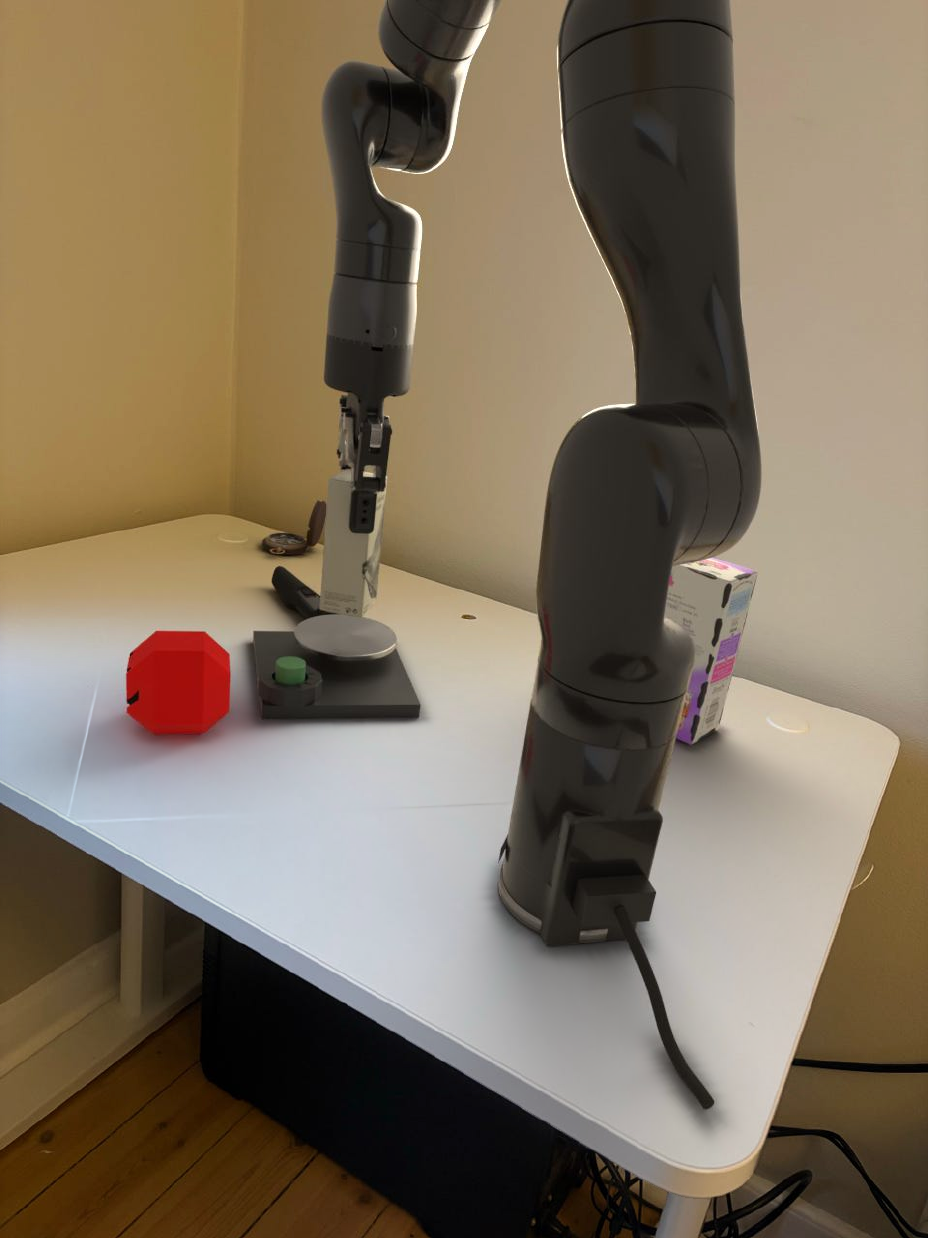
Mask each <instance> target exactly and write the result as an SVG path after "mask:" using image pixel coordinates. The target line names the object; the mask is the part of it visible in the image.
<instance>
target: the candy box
mask: <svg viewBox="0 0 928 1238" xmlns="http://www.w3.org/2000/svg"><path fill="white" fill-rule="evenodd" d="M758 573H759V571H758V570H755V569H753V568H752V569H751V568H748V567H746V566H743V565H739V564H735V563H733V562H729V561H726V560H723V559H721V558H717V557H712V558H709V559H706V560H701V561H697V562H691V563H687V564H681V565H676V566H672V571H671V576H670V582H669V588H668V595H667V601H666V608H665V617H667V618H669V619H671V620H672V621H674V622H676V623H677V624H679V625H680V626H681V627H683V628H684V629H685V630H686V631H687V632H688V633H689V635H690V636H691V638H692V639H693V642H694V645H695V661H694V666H693V670H692V674H691V679H690V683H689V686H688V690H687V695H686V699H685V703H684V707H683V711H682V715H681V719H680V724H679V728H678V732H677V735H676V739H675V740H679V741H681V742H684V743H686V744H688V745H690V746H692V745H693V744H696V743H697V742H699V741H700V740H702V739H704V738H705V737H707V736H709V735H711V734H713V733H715V732H717V731H718V730H719V728H720V724H721V720H722V718H723V717H722V716H723V713H724V708H725V704H726V701H727V697H728V693H729V690H730V685H731V681H732V678H733V674H734V669H735V665H736V662H737V657H738V653H739V649H740V646H741V642H742V637H743V634H744V629H745V625H746V622H747V618H748V613H749V609H750V605H751V601H752V597H753V594H754V589H755V585H756V583H757V577H758Z"/></svg>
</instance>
